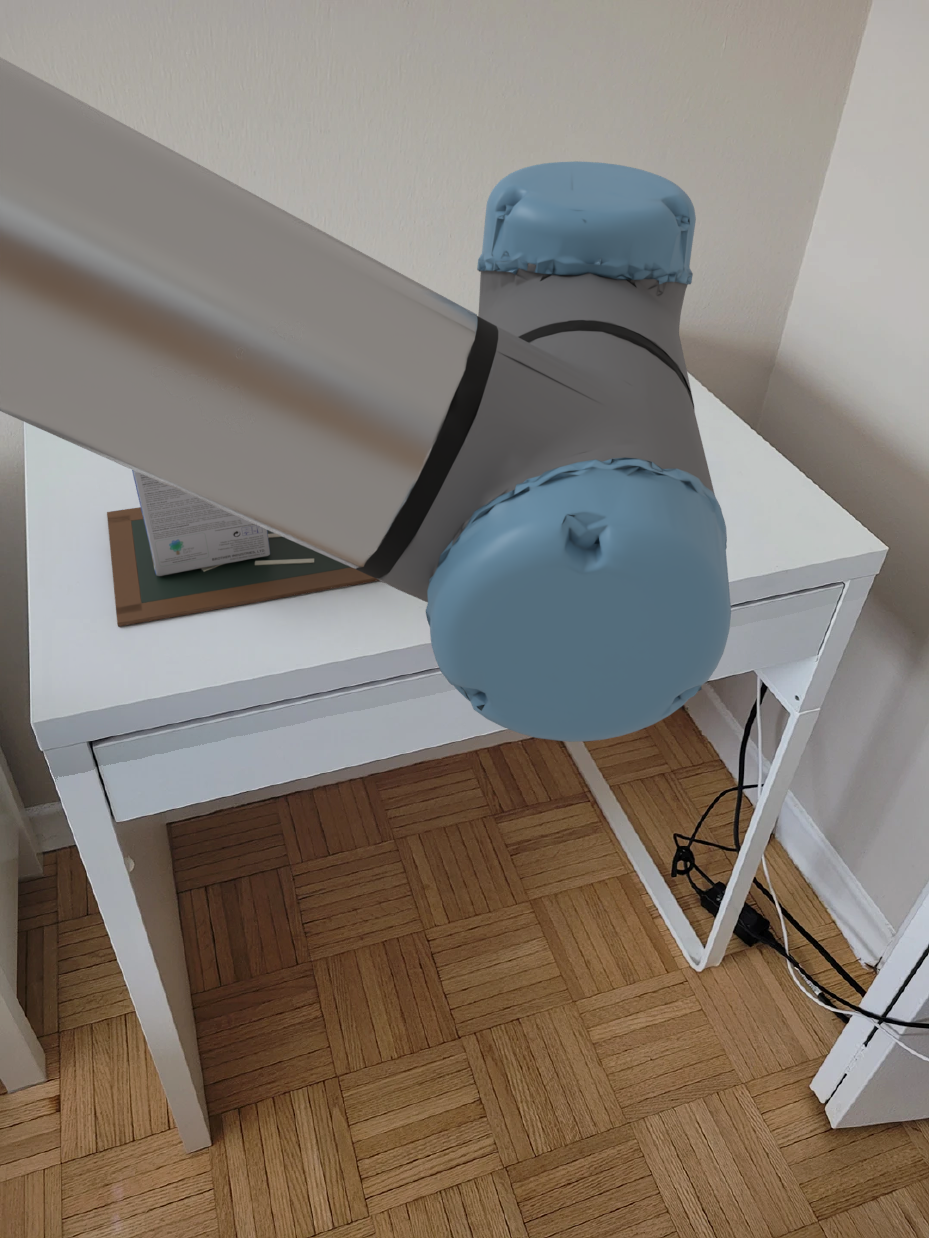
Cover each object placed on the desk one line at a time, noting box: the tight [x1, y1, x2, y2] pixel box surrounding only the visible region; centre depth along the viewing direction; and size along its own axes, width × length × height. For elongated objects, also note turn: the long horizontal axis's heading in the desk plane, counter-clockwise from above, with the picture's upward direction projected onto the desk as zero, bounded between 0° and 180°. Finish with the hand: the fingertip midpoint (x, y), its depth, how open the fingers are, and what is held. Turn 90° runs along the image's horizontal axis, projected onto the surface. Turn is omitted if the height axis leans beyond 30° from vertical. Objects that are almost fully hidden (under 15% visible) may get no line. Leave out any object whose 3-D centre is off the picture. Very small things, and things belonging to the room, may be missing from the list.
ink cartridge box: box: [131, 469, 270, 576], centre depth 77 cm, size 10×6×14 cm, turn 111°
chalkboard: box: [106, 506, 381, 628], centre depth 83 cm, size 22×16×1 cm
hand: (224, 312), depth 61 cm, fingers open, 13 cm apart
